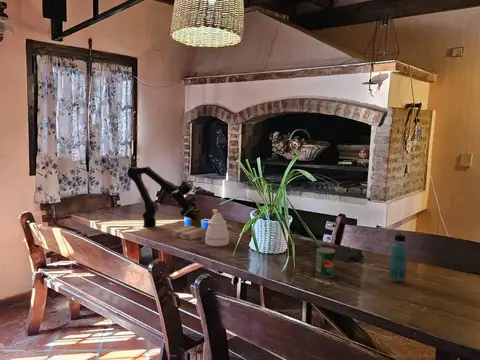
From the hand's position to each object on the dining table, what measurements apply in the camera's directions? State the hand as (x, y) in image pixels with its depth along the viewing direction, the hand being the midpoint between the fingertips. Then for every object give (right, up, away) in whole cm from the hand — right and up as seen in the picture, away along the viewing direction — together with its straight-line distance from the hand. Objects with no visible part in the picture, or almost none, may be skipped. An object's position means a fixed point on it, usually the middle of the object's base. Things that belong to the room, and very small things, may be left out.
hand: (198, 218), depth 256 cm
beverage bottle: (+91, -19, -81) cm, 124 cm away
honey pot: (+13, -11, -27) cm, 32 cm away
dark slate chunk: (+75, -15, -46) cm, 89 cm away
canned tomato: (+63, -18, -74) cm, 98 cm away
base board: (-4, -8, -13) cm, 16 cm away
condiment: (-1, -7, +1) cm, 7 cm away
